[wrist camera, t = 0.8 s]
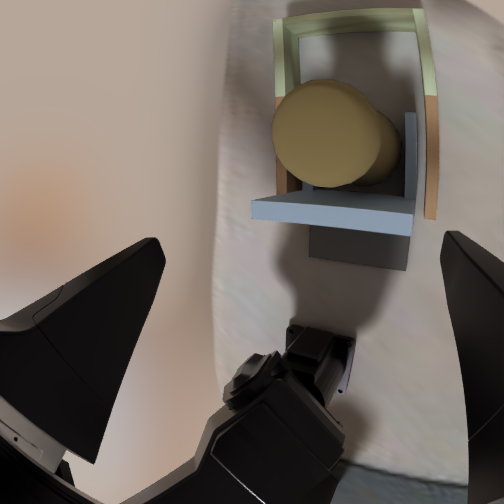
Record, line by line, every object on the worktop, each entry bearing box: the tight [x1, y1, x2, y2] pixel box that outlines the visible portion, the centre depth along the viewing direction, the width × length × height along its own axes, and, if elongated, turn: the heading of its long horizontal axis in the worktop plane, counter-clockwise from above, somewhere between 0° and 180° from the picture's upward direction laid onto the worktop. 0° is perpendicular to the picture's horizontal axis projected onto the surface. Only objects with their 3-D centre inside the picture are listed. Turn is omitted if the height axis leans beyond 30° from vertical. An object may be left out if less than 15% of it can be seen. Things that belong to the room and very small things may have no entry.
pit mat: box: [309, 225, 410, 271], centre depth 23 cm, size 4×8×1 cm, turn 92°
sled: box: [251, 112, 417, 236], centre depth 17 cm, size 7×8×9 cm
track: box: [273, 8, 439, 220], centre depth 19 cm, size 15×11×3 cm
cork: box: [272, 79, 401, 188], centre depth 16 cm, size 6×6×11 cm
